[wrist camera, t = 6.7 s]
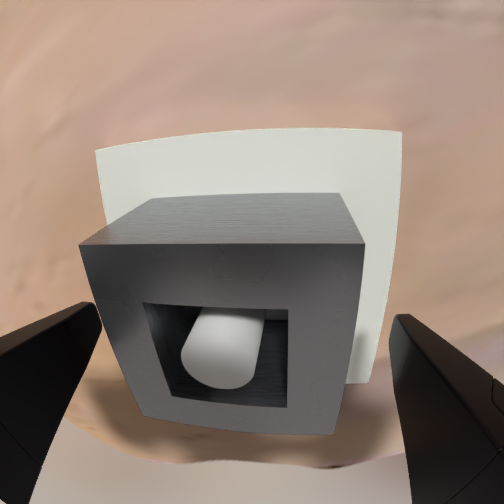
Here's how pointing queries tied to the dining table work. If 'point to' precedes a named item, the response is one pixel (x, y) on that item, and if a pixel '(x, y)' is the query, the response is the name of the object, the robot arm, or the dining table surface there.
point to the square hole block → (233, 303)
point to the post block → (269, 181)
